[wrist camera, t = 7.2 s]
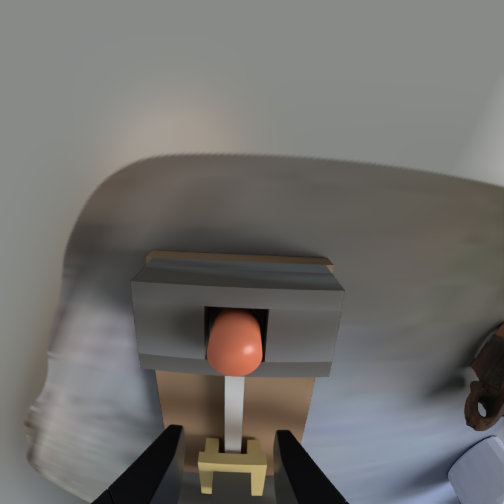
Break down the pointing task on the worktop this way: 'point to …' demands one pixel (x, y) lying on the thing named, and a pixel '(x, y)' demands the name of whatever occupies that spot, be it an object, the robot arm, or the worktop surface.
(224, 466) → the carriage
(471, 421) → the pottery mug
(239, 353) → the orange ball
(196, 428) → the rail board
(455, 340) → the worktop surface
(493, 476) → the soap bottle
